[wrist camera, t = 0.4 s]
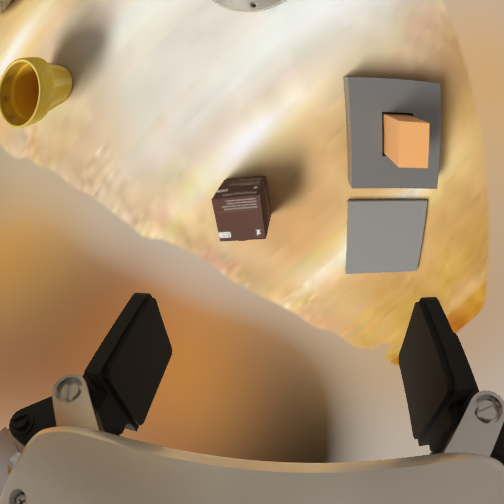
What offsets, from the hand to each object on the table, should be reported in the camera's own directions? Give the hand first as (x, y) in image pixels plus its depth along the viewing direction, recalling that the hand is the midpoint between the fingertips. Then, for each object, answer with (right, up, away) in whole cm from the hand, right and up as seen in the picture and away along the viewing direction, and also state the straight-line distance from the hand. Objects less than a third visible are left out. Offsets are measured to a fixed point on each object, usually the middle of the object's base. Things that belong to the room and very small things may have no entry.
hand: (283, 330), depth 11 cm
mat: (+19, +5, +34) cm, 39 cm away
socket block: (+17, +19, +25) cm, 36 cm away
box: (-2, +11, +34) cm, 35 cm away
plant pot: (-32, +29, +27) cm, 51 cm away
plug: (+17, +18, +25) cm, 35 cm away
